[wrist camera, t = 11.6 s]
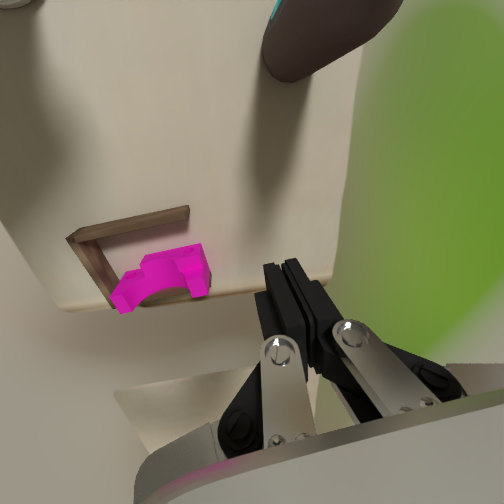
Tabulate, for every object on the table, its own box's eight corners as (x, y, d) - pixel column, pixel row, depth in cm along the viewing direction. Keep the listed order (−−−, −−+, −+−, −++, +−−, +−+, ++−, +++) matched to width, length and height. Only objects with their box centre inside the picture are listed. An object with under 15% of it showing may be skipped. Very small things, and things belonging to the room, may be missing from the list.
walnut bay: (79, 228, 37) (65, 238, 33) (188, 204, 37) (185, 212, 34) (121, 294, 44) (112, 309, 41) (211, 274, 45) (210, 287, 41)
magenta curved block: (200, 242, 41) (197, 264, 35) (209, 269, 44) (208, 294, 38) (120, 260, 41) (101, 285, 34) (135, 286, 44) (120, 314, 37)
